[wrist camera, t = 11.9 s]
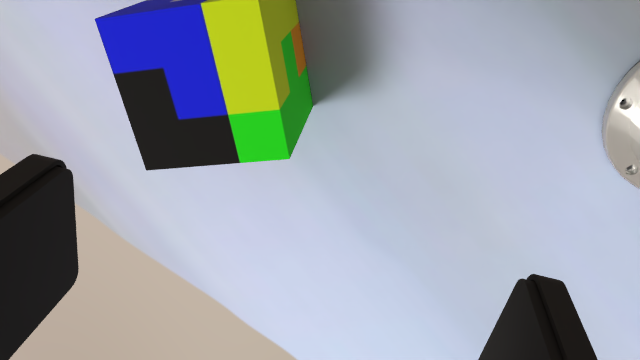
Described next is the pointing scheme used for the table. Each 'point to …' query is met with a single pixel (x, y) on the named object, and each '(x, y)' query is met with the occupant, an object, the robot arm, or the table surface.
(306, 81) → the puzzle toy
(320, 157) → the table surface
